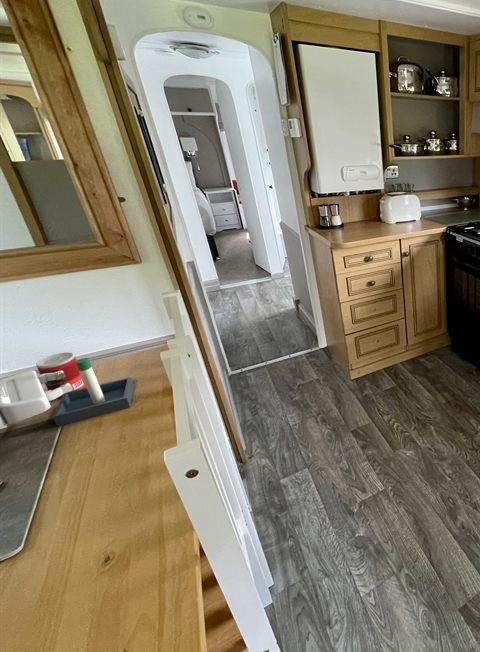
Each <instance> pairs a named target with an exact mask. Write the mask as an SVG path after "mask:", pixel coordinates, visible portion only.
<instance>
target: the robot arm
mask: <svg viewBox="0 0 480 652" xmlns="http://www.w3.org/2000/svg"><path fill="white" fill-rule="evenodd" d="M65 377H66V376H65V374H64V372H63V371H58V372H55V373H46V374H41V375H40V374H37V372H36V370H25V371H22V372H20V373H17V374H14V375H11V376H8V377H5V378H2V379H0V430H2V429H5V428H7V427H8V424H15V423H19V422H22V421H24V420H27V419H30V418H33V417H36V416H38V415H40V414H42V413H44V412H46V411H48V410H50V409H51V407H52V405H51V403H50V401H54V400H56V399H59V398H58V397H59V396H61V395H63V394H64V393H67V392H70V391H72V390H73V389H72V386H71V384H70V383H67V384H64V385H61V386H60V387H59V388H57V389H54V390H52V391H51V390H49V391H48V390H46V391H45V389H44V387H43V384H45V383H46V382H47V381H51V380H56V379H57V380H60V379H63V378H65Z"/></svg>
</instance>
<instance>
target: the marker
mask: <svg viewBox="0 0 480 652" xmlns="http://www.w3.org/2000/svg"><path fill="white" fill-rule="evenodd" d="M76 360H77V361H75V364H76V366H77V368H78V370H79V372H80V374H81V376H82V379H83V381H84V383H85V385H86V388H87V390H88V392H89V395H90V397H91V399H92V402H93V404H100V403H102V402H104V401H105V398H104V396H103V393H102V391H101V388H100V386H99V384H100V383H99V381H98V378H97V376H96V373H95V372H94V369H93V366H92V363H91V360H90V359H89V357H84V358H83V357H82V358H80V359H76Z"/></svg>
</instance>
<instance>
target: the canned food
mask: <svg viewBox="0 0 480 652" xmlns="http://www.w3.org/2000/svg"><path fill="white" fill-rule="evenodd" d="M77 360H78V359H77V358H76V356H75V354H74V353H73V352H59V353H55V354H52V355H49V356H45V357H43V358H42V359H40V360H38V361H37V362H36V364H35V365H36V368H37V371H38V372H39V375H41V374H46V373H55V372H58V371H63V372H64V374H65V376H66V377H65V378H63V379H60V380H57V379H56V380H51V381H47V382H46V383H44V385H45V387H46V390H47V391H49V390H51V391H52V390H54V389H57V388H59V387H60V386H61V385H64V384H67V383H70V384H71V386H72V389H73V390H72V391H74V390H78V389H83V388H86V385H85V383H84V381H83V379H82V376H81V374H80V372H79V370H78V368H77V366H76V364H75V361H77ZM62 396H63V395H61V396H59V397H58V398H57V399H61V398H62Z"/></svg>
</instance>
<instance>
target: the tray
mask: <svg viewBox="0 0 480 652" xmlns="http://www.w3.org/2000/svg"><path fill="white" fill-rule="evenodd" d="M99 386H100V388H101V391H102V393H103V396H104V398H105V401H104V402H102V403H100V404H93V402H92V399H91V397H90V395H89V392H88V390H87V388H83V389H78V390H74V391H70V392H67V393H64V394H63V396H62V398H60V400H59V403H58V405H57V407H56V409H55V411H54V413H53V416H52V420H53V421H54V423H55V425H56V427H57V426H58V427H62V426H66V425H69V424H73V423H76V422H79V421H84V420H88V419H91V418H95V417H99V416H102V415H105V414H110V413H113V412H117V411H121V410H125V409H127V408H131V404H132V399H133V393H134V388H135V384H134V381H133V378H132V376H129V377H125V378H121V379H116V380H112V381H109V382H103V383H99Z"/></svg>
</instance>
